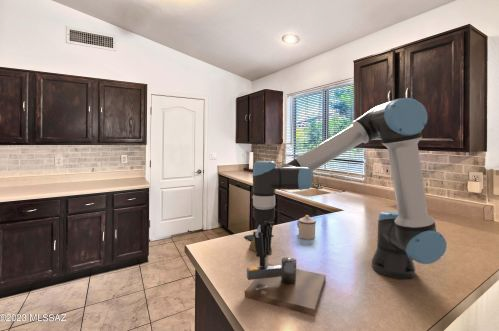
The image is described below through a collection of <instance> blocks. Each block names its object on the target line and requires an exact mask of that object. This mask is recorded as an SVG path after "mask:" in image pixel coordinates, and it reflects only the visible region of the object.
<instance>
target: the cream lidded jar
mask: <svg viewBox="0 0 499 331" xmlns="http://www.w3.org/2000/svg"><path fill="white" fill-rule="evenodd" d="M296 226H297V229H298V237H299V238H300V239H303V240H313V239H315V237H316V219H314V218H312V217H310V216H309V215H308V214H305V216H303V217H301V218H299V219H298V221H297V222H296Z"/></svg>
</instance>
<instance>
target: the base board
mask: <svg viewBox="0 0 499 331" xmlns="http://www.w3.org/2000/svg"><path fill="white" fill-rule="evenodd" d="M277 265H278V264H275V263H274V264H273V263H269V262H268V266H277ZM325 283H326V274H323V273H318V272H312V271H308V270H303V269H297V268H296V282H295V283H293V284H286V283H284V282H282V281H281V277H272V278H263V279H253V280H252V281H251V283H250V284H249V285H248V287H247V288H246V289H245V290H244V298H246V299H251V300H254V301H258V302H262V303H266V304H269V305H272V306H276V307H280V308H283V309H287V310H291V311H295V312H299V313H302V314H306V315H309V316H313V317H315V315H316V312H317V308H318V306H319V303H320V298H321V296H322V293H323V289H324V286H325Z"/></svg>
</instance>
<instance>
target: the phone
mask: <svg viewBox="0 0 499 331" xmlns="http://www.w3.org/2000/svg"><path fill="white" fill-rule="evenodd" d="M273 237H274V235H273V234H272V238H273ZM243 238H245V239H246V240H247V241H249V242H251V241H252V240H253V238H254V235H253V234H249V235H244V237H243Z"/></svg>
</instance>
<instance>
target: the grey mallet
mask: <svg viewBox="0 0 499 331" xmlns="http://www.w3.org/2000/svg"><path fill="white" fill-rule="evenodd" d="M276 265H277V266H266V267H259V266H252V267H248V268H246V278H247V280H248V281H254V280H255V279H263V278H272V277H281V281H282V282H284V283H286V284H293V283H295V282H296V269H297V259H296V258H294V257H291V256H289V257H287V256H286V257H283V258H281V264H276Z"/></svg>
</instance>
